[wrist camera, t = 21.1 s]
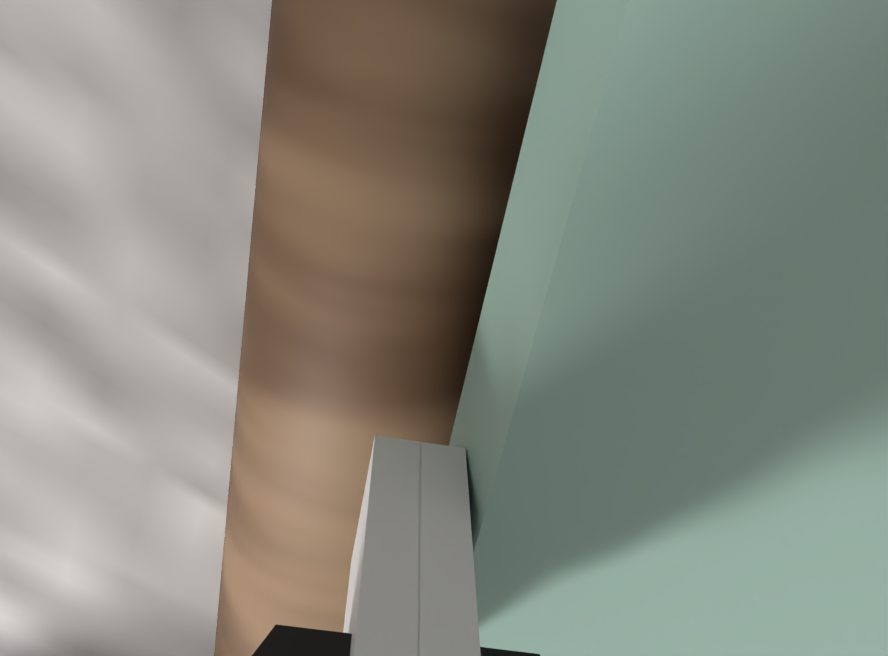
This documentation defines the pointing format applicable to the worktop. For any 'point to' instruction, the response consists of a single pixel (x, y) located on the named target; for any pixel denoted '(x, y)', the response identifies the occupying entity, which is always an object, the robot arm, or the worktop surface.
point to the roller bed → (362, 273)
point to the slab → (689, 339)
